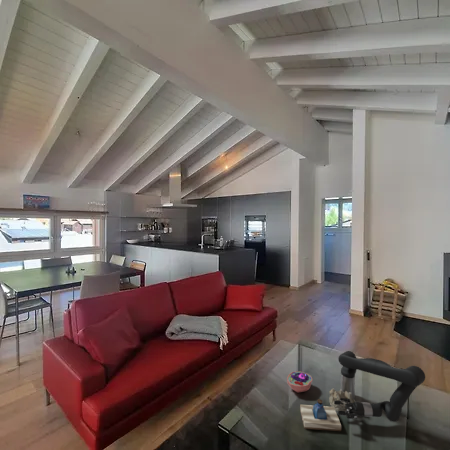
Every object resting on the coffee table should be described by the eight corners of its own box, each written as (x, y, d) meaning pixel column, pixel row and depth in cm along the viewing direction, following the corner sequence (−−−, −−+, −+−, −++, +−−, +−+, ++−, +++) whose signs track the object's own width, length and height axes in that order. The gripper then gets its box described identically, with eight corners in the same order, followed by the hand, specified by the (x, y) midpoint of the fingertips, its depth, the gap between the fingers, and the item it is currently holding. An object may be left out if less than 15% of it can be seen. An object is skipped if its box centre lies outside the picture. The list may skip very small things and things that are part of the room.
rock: (359, 414, 175) (358, 391, 175) (334, 414, 176) (333, 391, 176) (350, 398, 190) (349, 378, 190) (326, 398, 192) (325, 378, 192)
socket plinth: (300, 410, 179) (300, 404, 179) (333, 412, 177) (333, 406, 177) (304, 428, 165) (304, 422, 164) (341, 431, 162) (341, 425, 162)
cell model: (281, 386, 204) (281, 371, 203) (302, 378, 212) (302, 365, 212) (296, 400, 189) (296, 385, 188) (317, 391, 197) (317, 377, 196)
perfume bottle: (322, 414, 174) (322, 397, 173) (326, 422, 168) (326, 404, 167) (313, 414, 174) (313, 397, 173) (316, 422, 168) (316, 404, 167)
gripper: (358, 395, 174) (333, 393, 176) (367, 412, 160) (339, 410, 162) (358, 406, 175) (332, 404, 176) (367, 423, 160) (339, 421, 162)
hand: (336, 407), depth 169 cm, fingers open, 8 cm apart
